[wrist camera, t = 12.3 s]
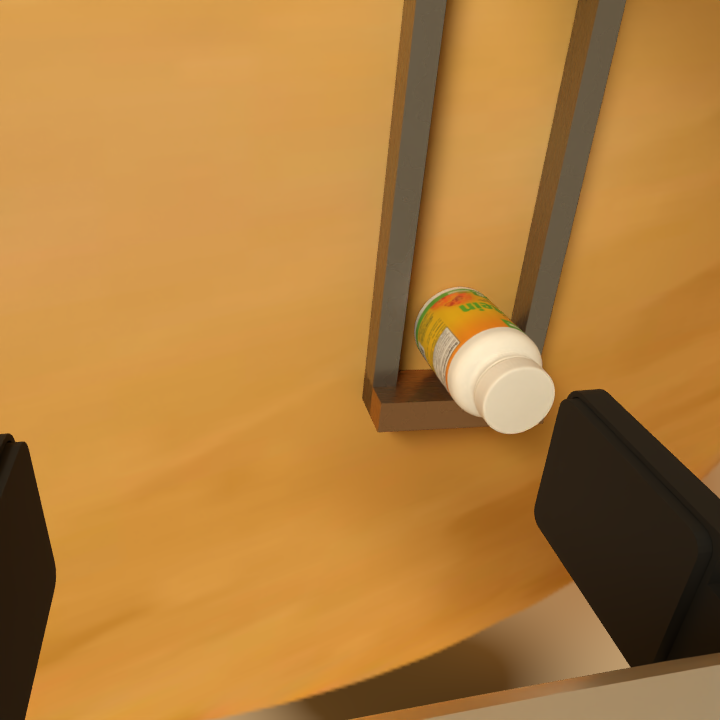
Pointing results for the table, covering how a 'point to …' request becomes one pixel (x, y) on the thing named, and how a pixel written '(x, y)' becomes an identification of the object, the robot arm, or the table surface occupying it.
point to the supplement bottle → (484, 360)
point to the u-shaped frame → (403, 194)
